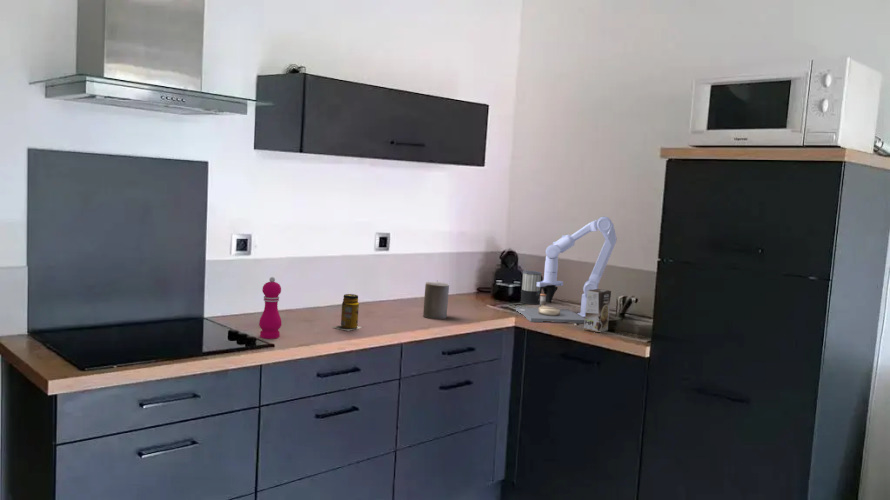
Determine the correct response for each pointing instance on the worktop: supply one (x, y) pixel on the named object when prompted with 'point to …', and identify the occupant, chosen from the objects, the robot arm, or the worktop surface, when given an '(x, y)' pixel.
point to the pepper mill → (270, 311)
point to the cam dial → (545, 309)
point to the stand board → (550, 316)
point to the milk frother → (531, 287)
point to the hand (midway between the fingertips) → (548, 302)
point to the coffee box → (597, 309)
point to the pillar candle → (436, 300)
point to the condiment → (349, 313)
